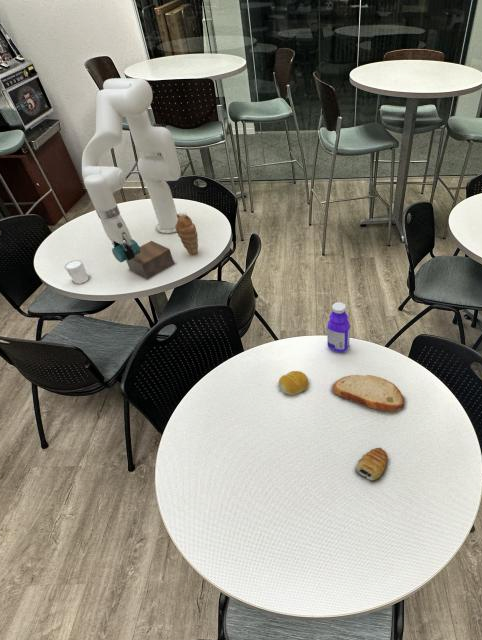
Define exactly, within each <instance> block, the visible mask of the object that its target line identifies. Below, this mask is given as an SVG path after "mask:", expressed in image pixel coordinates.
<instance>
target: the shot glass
mask: <svg viewBox="0 0 482 640" xmlns="http://www.w3.org/2000/svg"><path fill="white" fill-rule="evenodd" d="M64 269H65V270H66V272H67V273H68V275H69V276H70V278H71V279H72V281H73V282H74V283H75V284H83V283H85V282H87V281H88V280H89V275H88V272H87V270H86V268H85V265H84V262H83V261H82V260H80V259H76V260H75V259H74V260H71V261H69V262H67V263H66V264H64Z"/></svg>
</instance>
